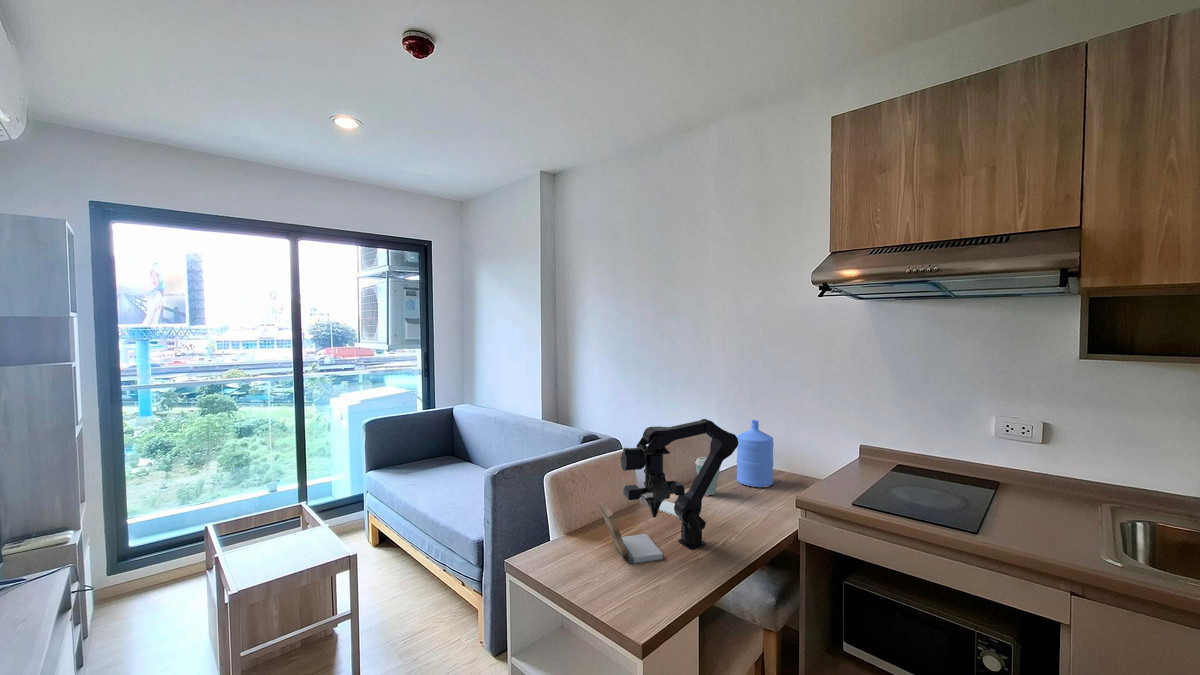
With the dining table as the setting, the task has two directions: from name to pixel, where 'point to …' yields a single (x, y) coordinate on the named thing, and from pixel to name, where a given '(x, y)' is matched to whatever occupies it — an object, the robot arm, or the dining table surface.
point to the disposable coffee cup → (713, 485)
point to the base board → (641, 548)
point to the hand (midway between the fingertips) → (654, 517)
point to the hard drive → (667, 507)
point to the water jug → (755, 457)
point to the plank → (613, 529)
